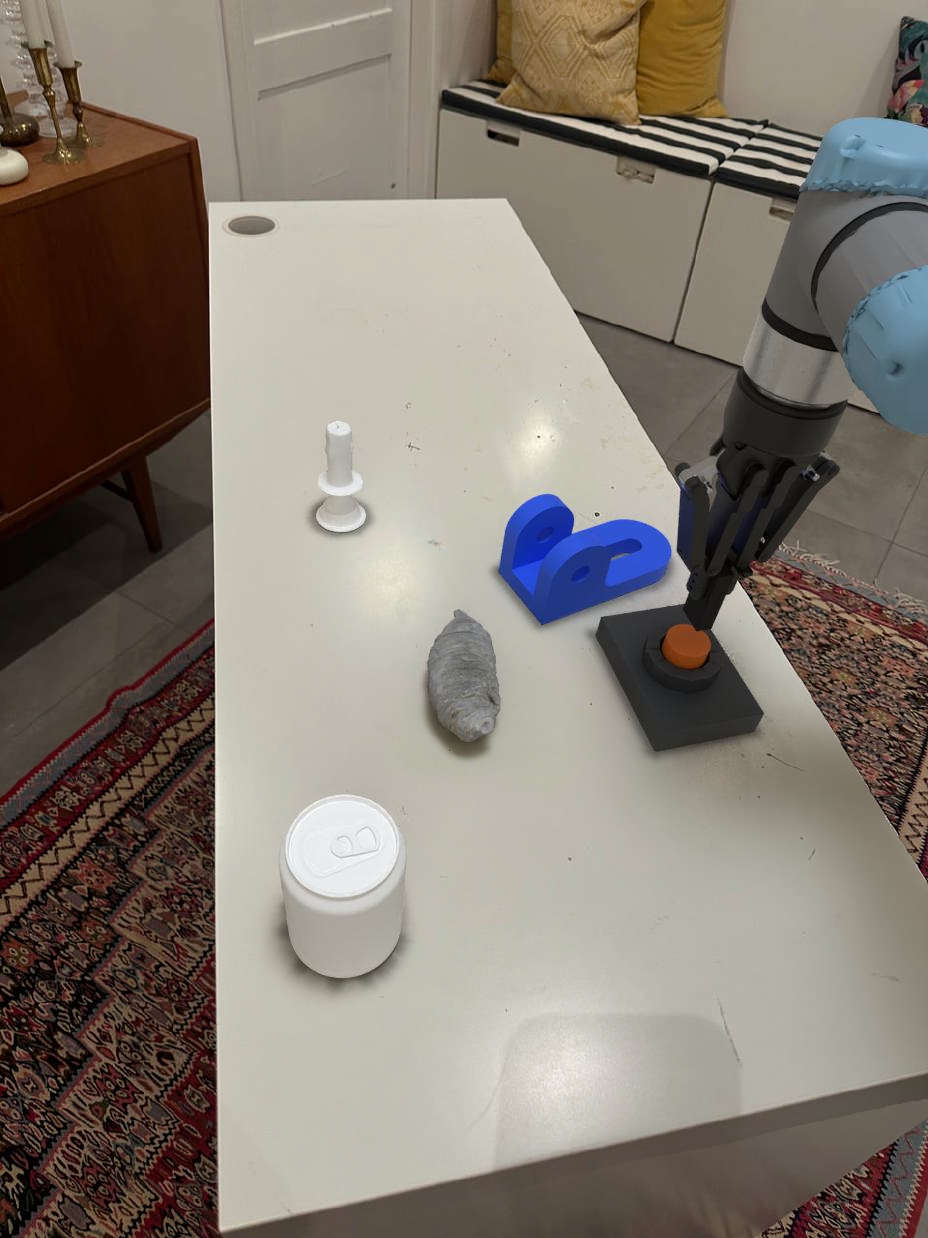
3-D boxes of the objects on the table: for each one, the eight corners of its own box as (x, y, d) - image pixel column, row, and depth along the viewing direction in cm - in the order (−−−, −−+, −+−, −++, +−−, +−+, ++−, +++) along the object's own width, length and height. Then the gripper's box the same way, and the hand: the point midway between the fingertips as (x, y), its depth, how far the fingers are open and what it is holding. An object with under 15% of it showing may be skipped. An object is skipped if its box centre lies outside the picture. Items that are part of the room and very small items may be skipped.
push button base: (754, 731, 78) (771, 700, 75) (654, 751, 76) (668, 721, 73) (686, 620, 87) (699, 589, 84) (595, 635, 85) (604, 603, 82)
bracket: (541, 625, 85) (556, 557, 79) (498, 571, 90) (509, 504, 83) (682, 572, 92) (706, 506, 86) (635, 525, 97) (654, 460, 91)
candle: (348, 539, 91) (347, 444, 83) (306, 521, 93) (300, 426, 84) (375, 512, 95) (376, 418, 86) (333, 495, 96) (330, 401, 88)
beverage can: (277, 892, 64) (264, 807, 56) (382, 860, 67) (385, 774, 58) (304, 998, 59) (293, 923, 51) (416, 959, 62) (425, 881, 53)
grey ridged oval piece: (497, 611, 82) (491, 578, 75) (506, 753, 77) (500, 733, 70) (431, 616, 83) (418, 584, 75) (435, 757, 78) (421, 738, 70)
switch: (713, 666, 78) (718, 653, 77) (673, 673, 77) (678, 660, 76) (693, 633, 81) (698, 620, 79) (654, 640, 80) (659, 627, 78)
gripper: (845, 345, 62) (741, 579, 80) (683, 358, 59) (611, 599, 76) (908, 403, 58) (783, 639, 75) (736, 420, 54) (646, 663, 72)
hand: (696, 618), depth 76 cm, fingers closed
